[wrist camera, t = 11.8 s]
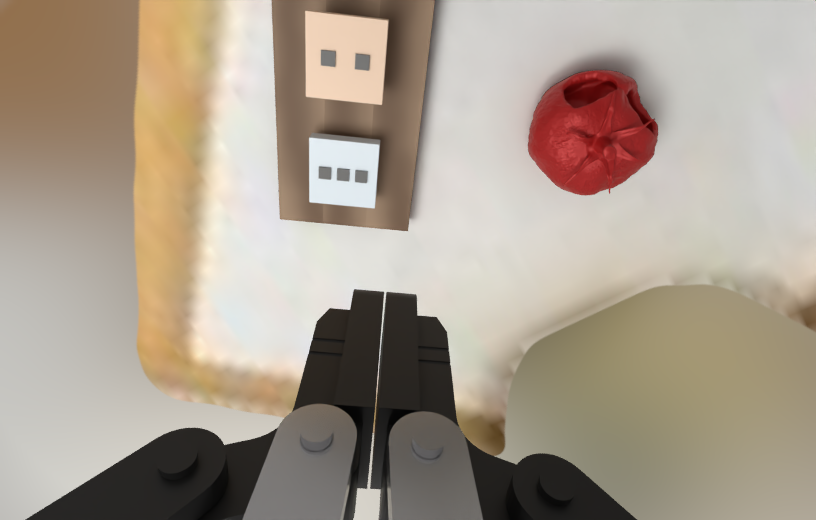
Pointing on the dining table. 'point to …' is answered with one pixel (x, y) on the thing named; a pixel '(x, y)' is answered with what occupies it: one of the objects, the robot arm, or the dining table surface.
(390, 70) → the key board
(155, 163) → the dining table surface
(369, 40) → the key two
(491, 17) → the dining table surface
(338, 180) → the key three
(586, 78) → the pomegranate
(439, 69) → the dining table surface
